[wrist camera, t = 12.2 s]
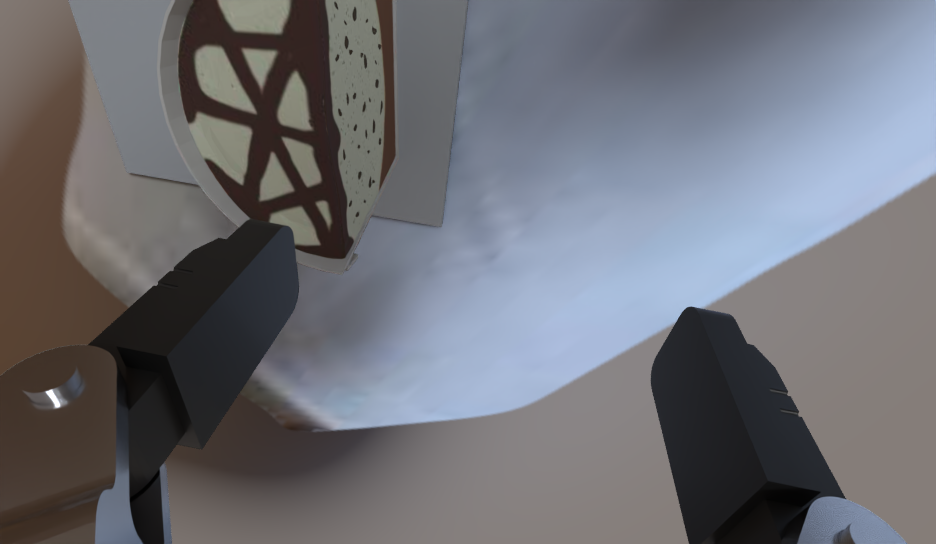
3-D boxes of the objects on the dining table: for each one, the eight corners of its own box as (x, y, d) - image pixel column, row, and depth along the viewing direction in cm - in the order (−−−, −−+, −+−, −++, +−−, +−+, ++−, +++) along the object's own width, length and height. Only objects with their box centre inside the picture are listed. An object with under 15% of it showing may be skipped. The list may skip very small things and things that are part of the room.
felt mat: (484, -133, 19) (483, -135, 18) (442, 222, 29) (441, 227, 28) (8, -213, 19) (-6, -217, 18) (133, 168, 29) (126, 172, 29)
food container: (255, -96, 20) (67, -120, 12) (395, -83, 20) (300, -99, 11) (297, 169, 27) (199, 266, 19) (399, 181, 27) (343, 285, 19)
